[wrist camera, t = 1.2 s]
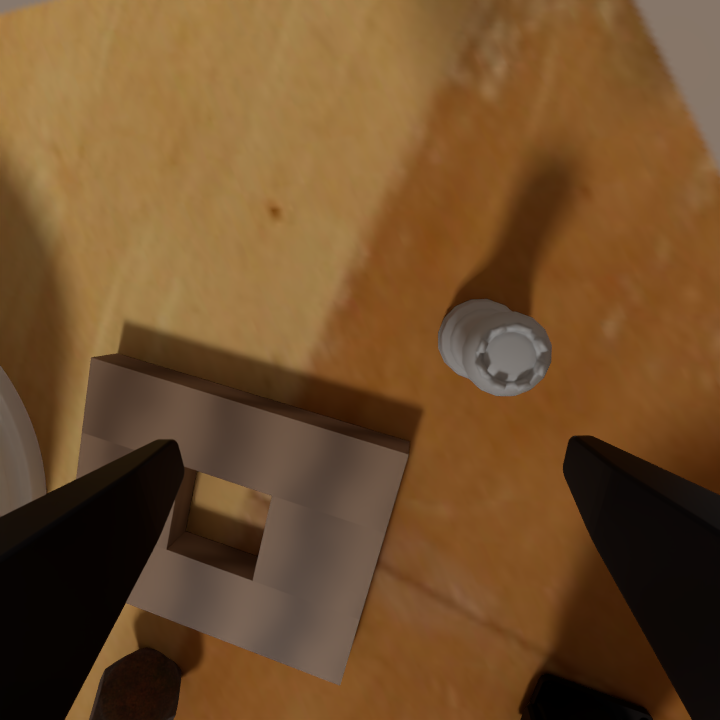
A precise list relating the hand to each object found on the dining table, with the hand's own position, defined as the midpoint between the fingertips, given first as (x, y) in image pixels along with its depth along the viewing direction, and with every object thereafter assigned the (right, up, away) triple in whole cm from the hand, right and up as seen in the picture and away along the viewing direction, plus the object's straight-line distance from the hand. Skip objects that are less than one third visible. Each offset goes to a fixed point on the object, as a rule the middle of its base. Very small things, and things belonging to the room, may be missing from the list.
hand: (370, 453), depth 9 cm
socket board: (-9, -8, +16) cm, 20 cm away
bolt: (-18, -26, +21) cm, 38 cm away
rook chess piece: (+6, +3, +13) cm, 15 cm away
